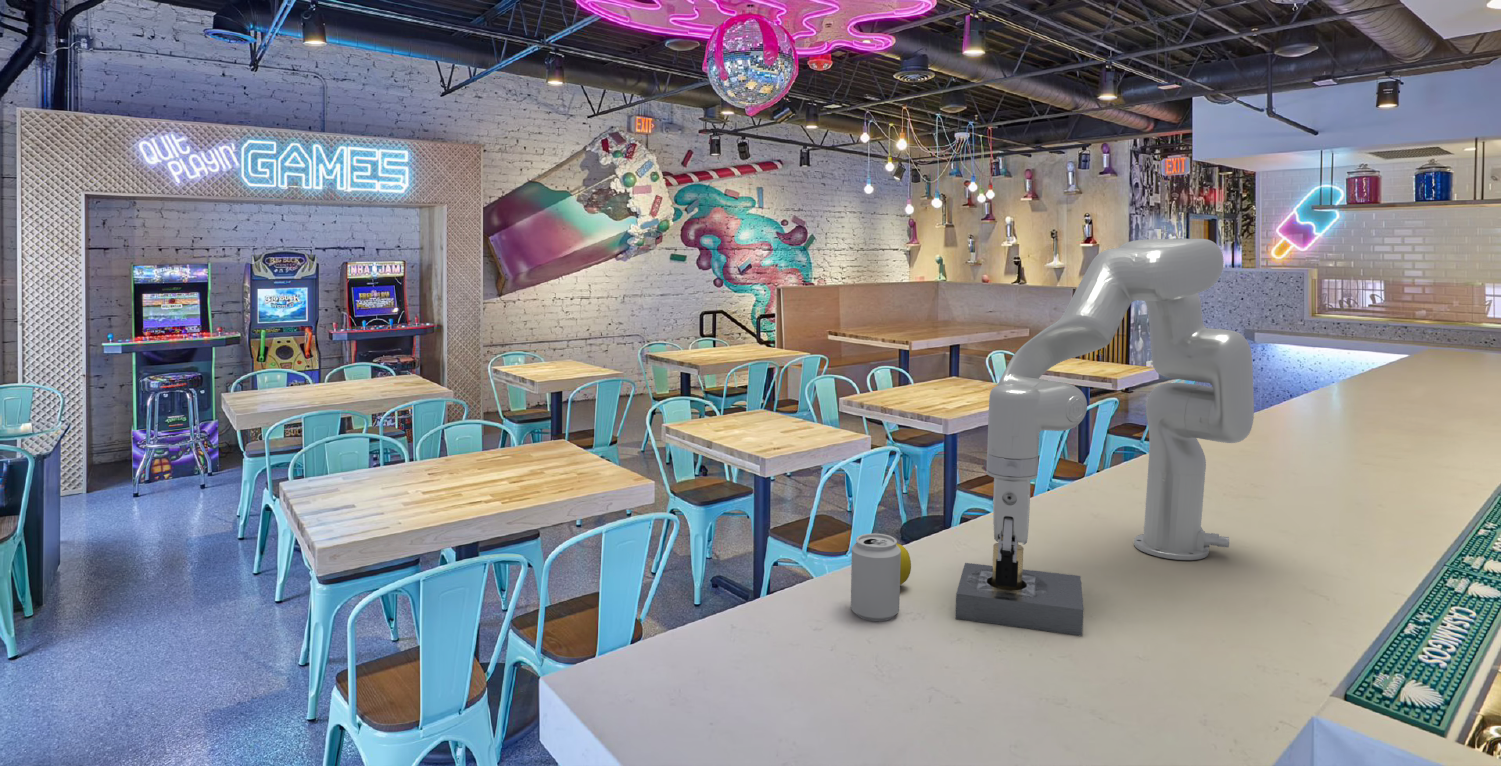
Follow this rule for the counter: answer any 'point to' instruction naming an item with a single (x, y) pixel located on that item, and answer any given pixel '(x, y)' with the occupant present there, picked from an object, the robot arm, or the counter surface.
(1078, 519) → the counter surface
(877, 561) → the can
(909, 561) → the lemon
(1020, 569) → the cylinder
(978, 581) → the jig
